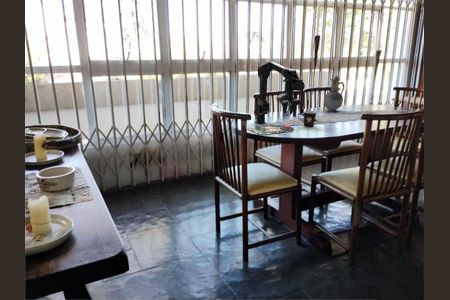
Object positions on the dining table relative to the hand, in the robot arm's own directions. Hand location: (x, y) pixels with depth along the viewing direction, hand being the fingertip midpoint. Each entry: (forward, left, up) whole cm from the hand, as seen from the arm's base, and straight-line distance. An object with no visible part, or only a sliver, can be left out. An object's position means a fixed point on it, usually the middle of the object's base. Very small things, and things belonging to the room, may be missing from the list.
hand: (287, 113), depth 210 cm
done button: (0, 0, -10) cm, 10 cm away
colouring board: (-4, -13, -11) cm, 18 cm away
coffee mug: (-4, +21, -11) cm, 24 cm away
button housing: (0, 0, -11) cm, 11 cm away
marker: (-4, -18, -10) cm, 21 cm away
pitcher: (-39, +80, -11) cm, 90 cm away
